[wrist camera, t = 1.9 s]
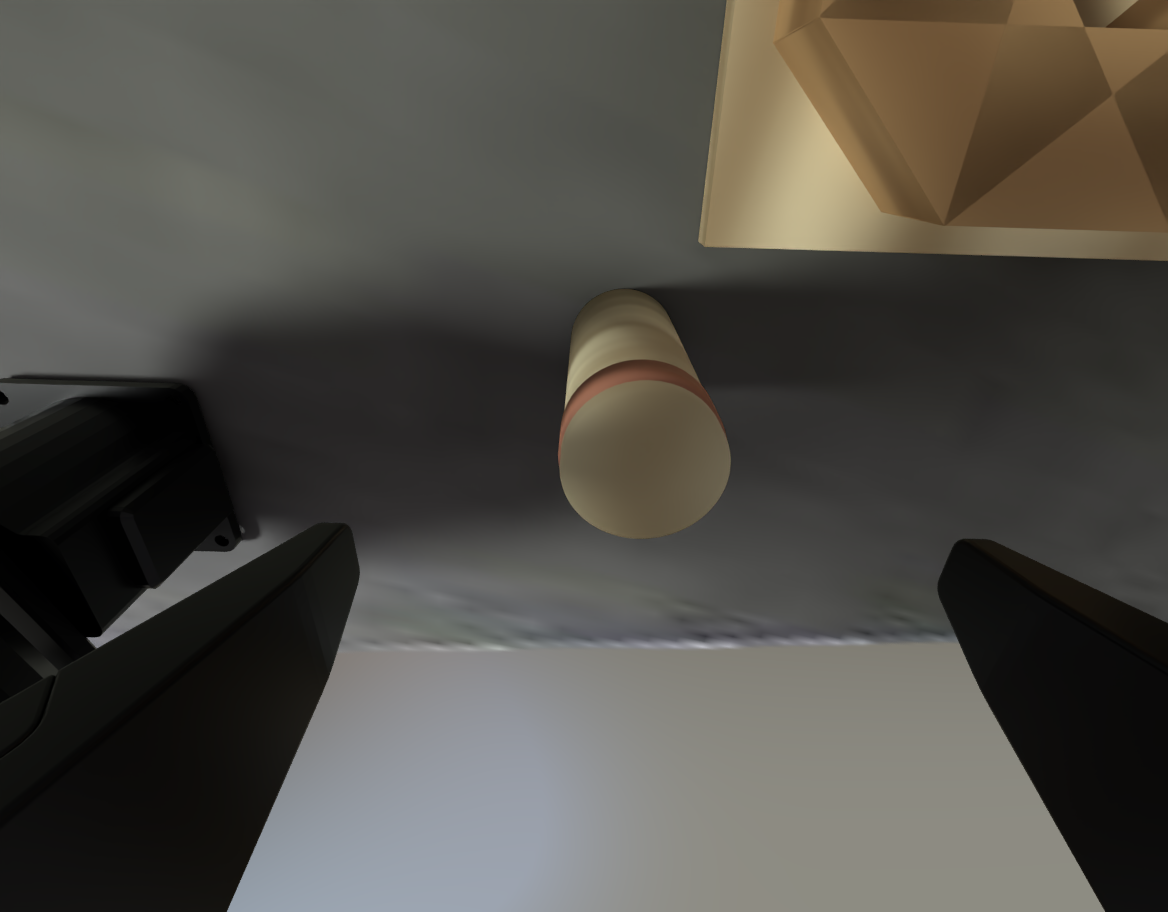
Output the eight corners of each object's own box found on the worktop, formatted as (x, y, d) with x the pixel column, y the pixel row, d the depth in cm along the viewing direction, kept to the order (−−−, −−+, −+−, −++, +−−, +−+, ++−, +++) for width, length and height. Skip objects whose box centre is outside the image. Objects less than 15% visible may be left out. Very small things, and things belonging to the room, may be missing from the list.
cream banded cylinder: (568, 388, 18) (556, 538, 11) (570, 285, 17) (557, 385, 10) (669, 391, 18) (719, 543, 11) (680, 288, 17) (746, 390, 10)
